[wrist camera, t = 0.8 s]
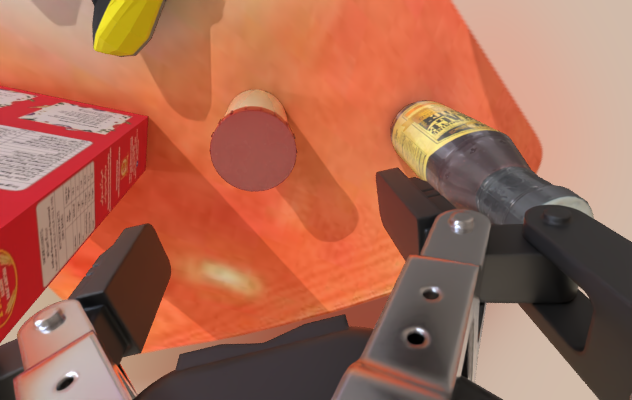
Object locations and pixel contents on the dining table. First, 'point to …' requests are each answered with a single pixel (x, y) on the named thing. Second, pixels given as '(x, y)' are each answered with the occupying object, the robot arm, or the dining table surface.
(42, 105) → the food packaging
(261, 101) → the jar
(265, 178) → the lid
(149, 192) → the dining table surface
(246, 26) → the dining table surface
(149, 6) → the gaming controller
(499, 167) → the sauce bottle
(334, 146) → the dining table surface
